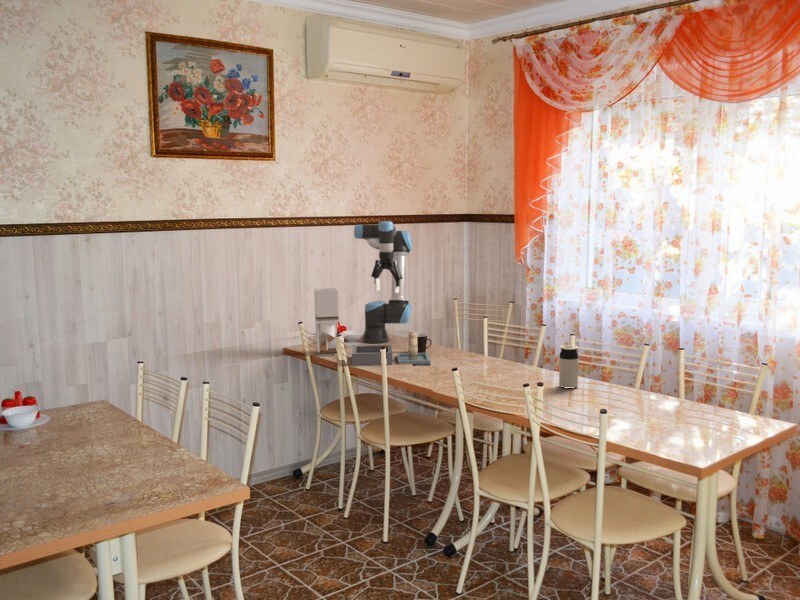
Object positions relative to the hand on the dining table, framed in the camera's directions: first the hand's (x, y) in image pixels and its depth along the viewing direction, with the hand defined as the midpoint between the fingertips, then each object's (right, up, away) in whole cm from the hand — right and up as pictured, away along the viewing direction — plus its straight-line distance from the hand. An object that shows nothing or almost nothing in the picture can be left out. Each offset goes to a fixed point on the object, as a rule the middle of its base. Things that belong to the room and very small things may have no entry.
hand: (387, 291), depth 395 cm
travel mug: (+81, -43, -64) cm, 112 cm away
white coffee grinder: (-32, -34, +12) cm, 48 cm away
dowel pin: (+14, -35, -10) cm, 39 cm away
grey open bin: (-7, -36, -11) cm, 39 cm away
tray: (+14, -36, -10) cm, 40 cm away
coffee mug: (+18, -33, +8) cm, 39 cm away
